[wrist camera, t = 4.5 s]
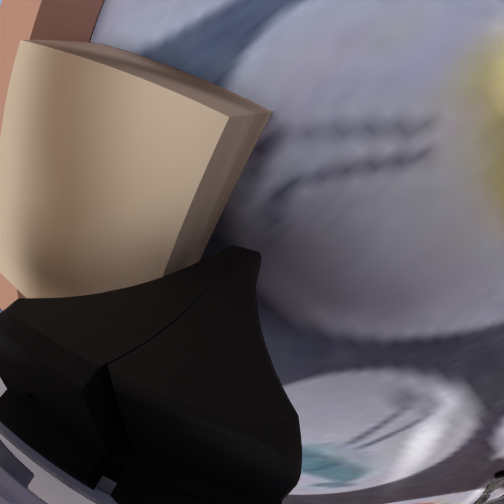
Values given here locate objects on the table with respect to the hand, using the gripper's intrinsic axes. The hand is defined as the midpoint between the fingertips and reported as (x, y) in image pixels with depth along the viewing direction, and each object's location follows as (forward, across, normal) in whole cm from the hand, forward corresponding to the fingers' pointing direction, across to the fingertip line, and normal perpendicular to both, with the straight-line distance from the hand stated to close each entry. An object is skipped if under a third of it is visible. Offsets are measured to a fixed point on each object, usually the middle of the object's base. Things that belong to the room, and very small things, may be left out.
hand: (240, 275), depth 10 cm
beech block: (+1, +5, -2) cm, 5 cm away
